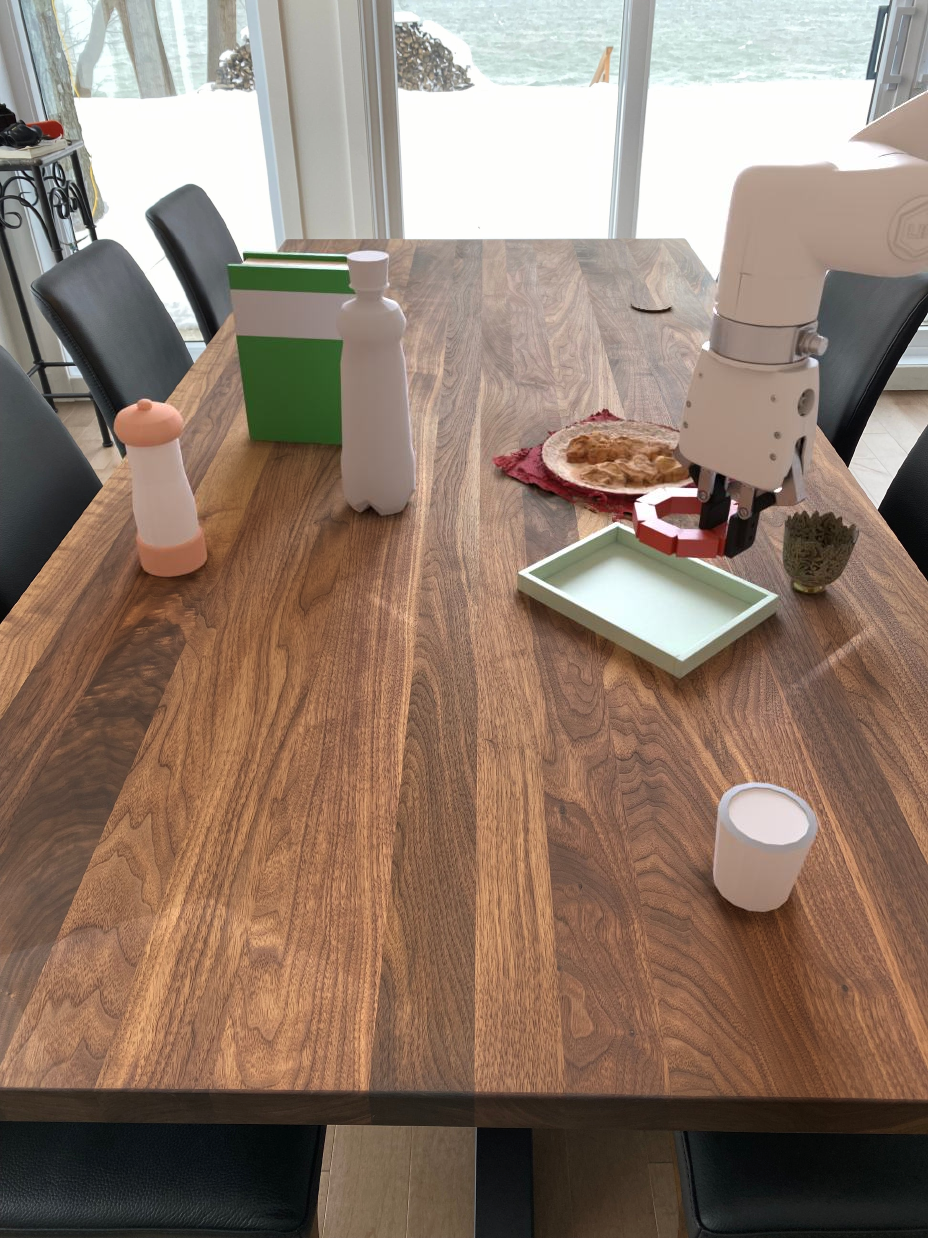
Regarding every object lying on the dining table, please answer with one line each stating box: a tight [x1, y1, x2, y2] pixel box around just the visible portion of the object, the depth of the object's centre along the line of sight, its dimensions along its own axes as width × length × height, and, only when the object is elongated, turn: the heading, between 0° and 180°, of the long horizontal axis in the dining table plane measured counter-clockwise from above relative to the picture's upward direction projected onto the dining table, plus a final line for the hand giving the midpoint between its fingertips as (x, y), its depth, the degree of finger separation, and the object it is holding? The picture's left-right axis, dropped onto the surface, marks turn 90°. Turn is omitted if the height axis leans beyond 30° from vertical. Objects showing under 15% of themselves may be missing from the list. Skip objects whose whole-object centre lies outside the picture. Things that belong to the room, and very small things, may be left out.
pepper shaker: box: [113, 398, 208, 578], centre depth 106 cm, size 7×7×19 cm
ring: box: [631, 488, 739, 559], centre depth 86 cm, size 10×10×2 cm
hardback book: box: [226, 250, 357, 446], centre depth 134 cm, size 18×7×24 cm, turn 83°
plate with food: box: [491, 408, 736, 524], centre depth 129 cm, size 24×26×4 cm
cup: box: [781, 509, 860, 597], centre depth 104 cm, size 8×7×8 cm
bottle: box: [335, 250, 417, 517], centre depth 114 cm, size 9×9×30 cm
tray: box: [516, 521, 780, 679], centre depth 103 cm, size 22×17×2 cm
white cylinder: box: [712, 781, 819, 913], centre depth 71 cm, size 7×7×7 cm
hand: (724, 544), depth 84 cm, fingers closed on ring, 2 cm apart
